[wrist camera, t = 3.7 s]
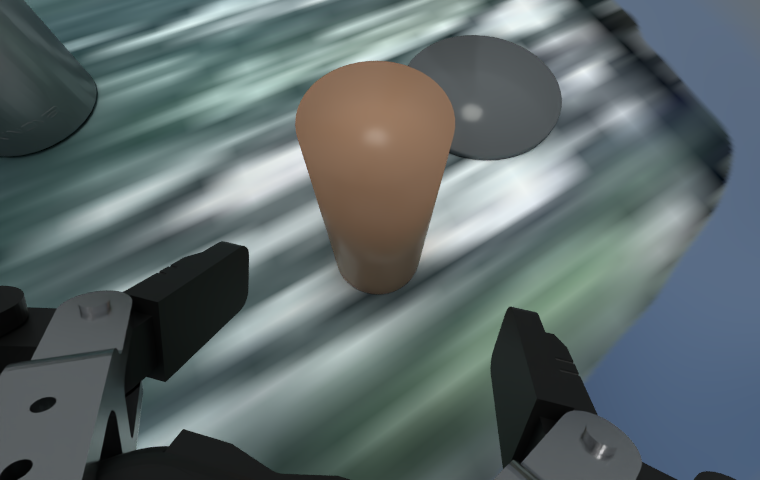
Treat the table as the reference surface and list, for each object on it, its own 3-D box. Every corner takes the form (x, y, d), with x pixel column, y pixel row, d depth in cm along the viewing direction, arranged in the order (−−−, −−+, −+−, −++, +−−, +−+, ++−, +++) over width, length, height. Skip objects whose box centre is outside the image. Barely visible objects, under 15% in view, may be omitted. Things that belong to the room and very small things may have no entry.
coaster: (370, 83, 29) (370, 77, 28) (483, 22, 32) (485, 15, 31) (473, 188, 25) (475, 184, 24) (591, 108, 28) (595, 102, 27)
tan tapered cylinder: (320, 245, 23) (266, 104, 12) (386, 203, 24) (391, 40, 13) (368, 311, 21) (355, 216, 10) (436, 262, 23) (488, 131, 12)
